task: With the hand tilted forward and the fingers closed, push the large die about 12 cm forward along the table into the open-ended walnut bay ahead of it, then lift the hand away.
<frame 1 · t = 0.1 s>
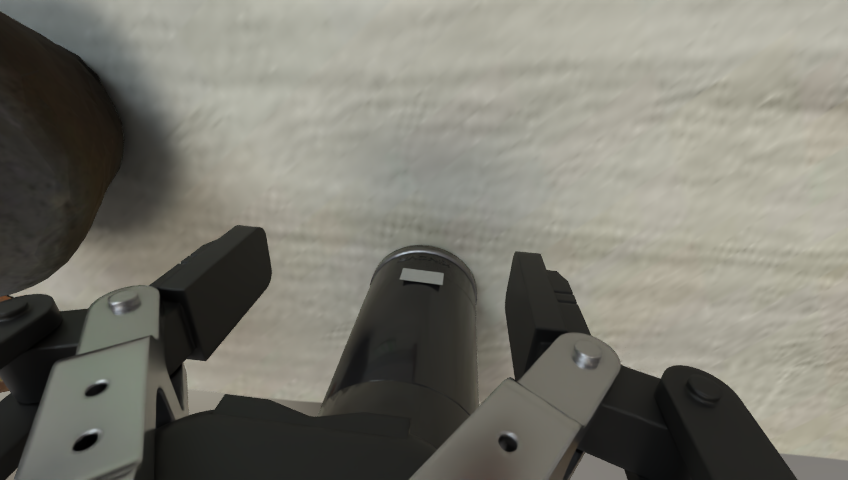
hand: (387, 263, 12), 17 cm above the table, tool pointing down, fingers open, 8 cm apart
pitcher: (52, 102, 29), on the table
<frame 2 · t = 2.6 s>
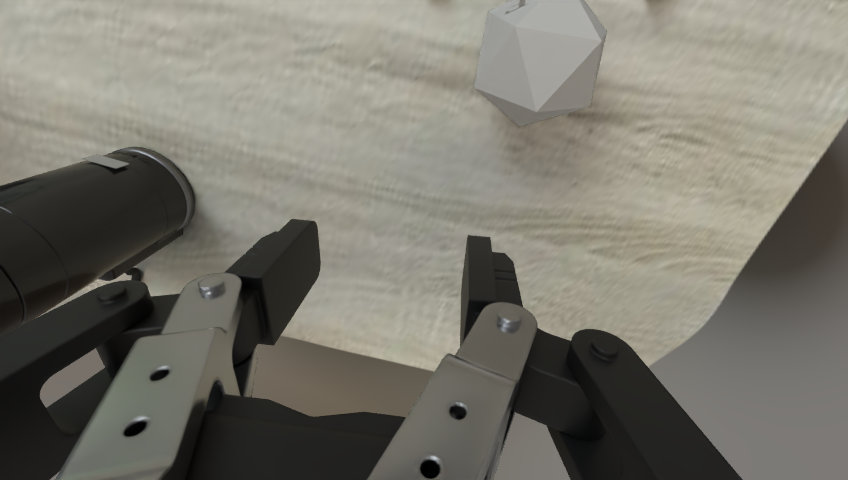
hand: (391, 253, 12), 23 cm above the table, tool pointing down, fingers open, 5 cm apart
die: (530, 58, 30), on the table
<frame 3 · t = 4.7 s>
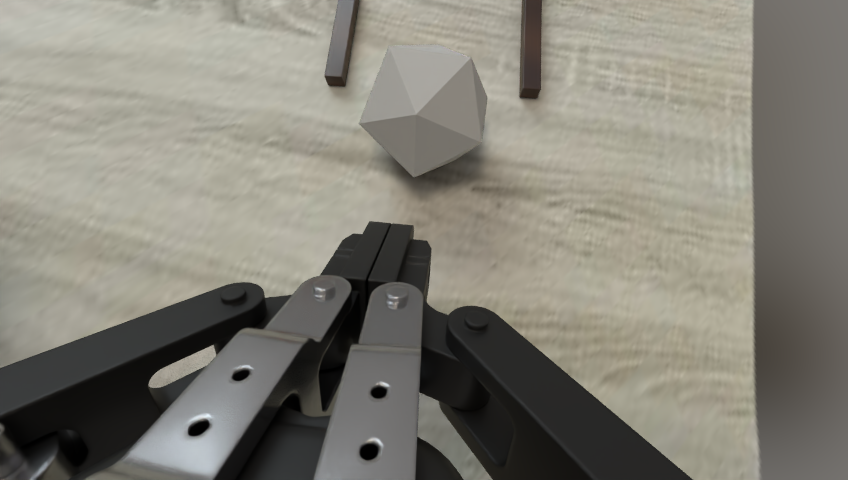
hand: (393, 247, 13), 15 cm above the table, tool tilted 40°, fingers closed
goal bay: (438, 20, 33), on the table
die: (426, 140, 31), on the table
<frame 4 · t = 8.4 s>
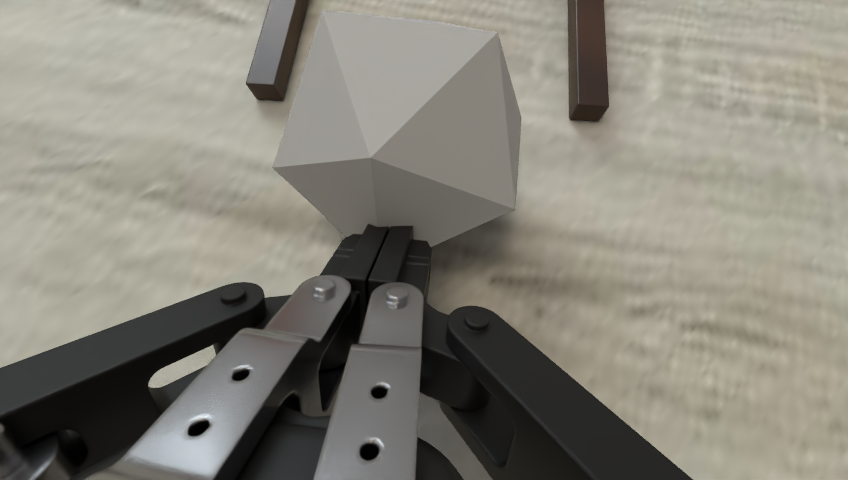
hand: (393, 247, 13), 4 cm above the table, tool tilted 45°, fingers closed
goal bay: (436, 0, 21), on the table
die: (414, 187, 18), on the table, touching gripper
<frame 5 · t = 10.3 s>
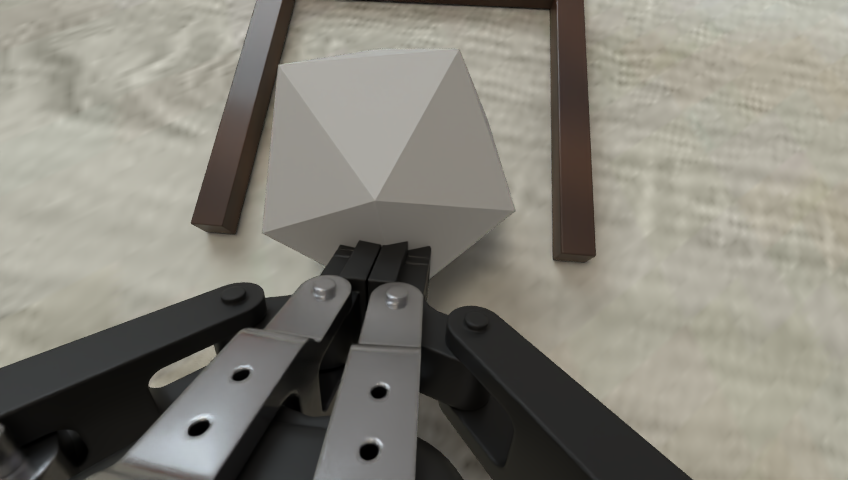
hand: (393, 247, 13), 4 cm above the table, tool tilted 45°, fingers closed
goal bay: (407, 111, 19), on the table
die: (398, 212, 18), on the table, touching gripper
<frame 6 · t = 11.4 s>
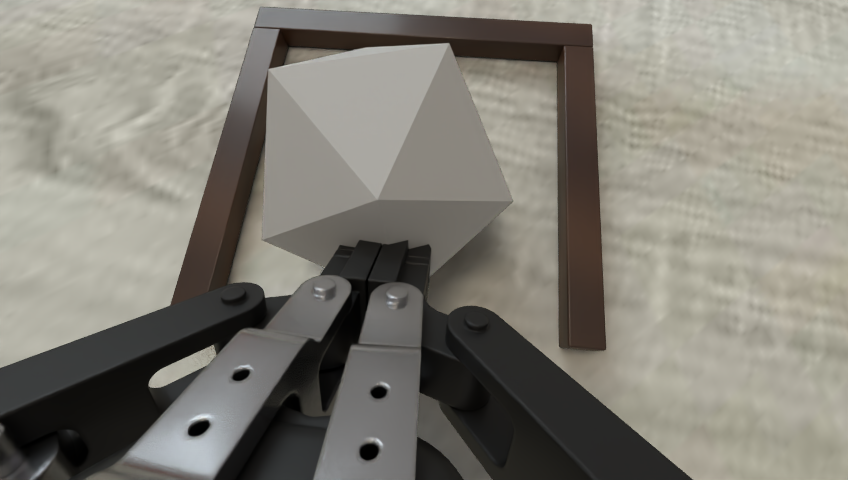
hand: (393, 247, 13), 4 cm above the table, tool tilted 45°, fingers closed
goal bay: (404, 175, 18), on the table
die: (394, 210, 18), on the table, touching gripper
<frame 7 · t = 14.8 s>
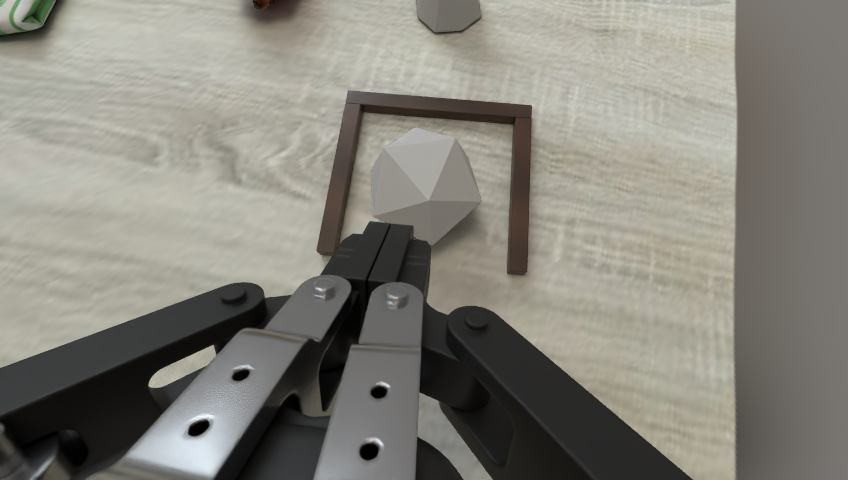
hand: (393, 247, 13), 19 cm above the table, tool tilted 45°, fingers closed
flask: (447, 10, 41), on the table
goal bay: (429, 186, 34), on the table
die: (424, 204, 34), on the table
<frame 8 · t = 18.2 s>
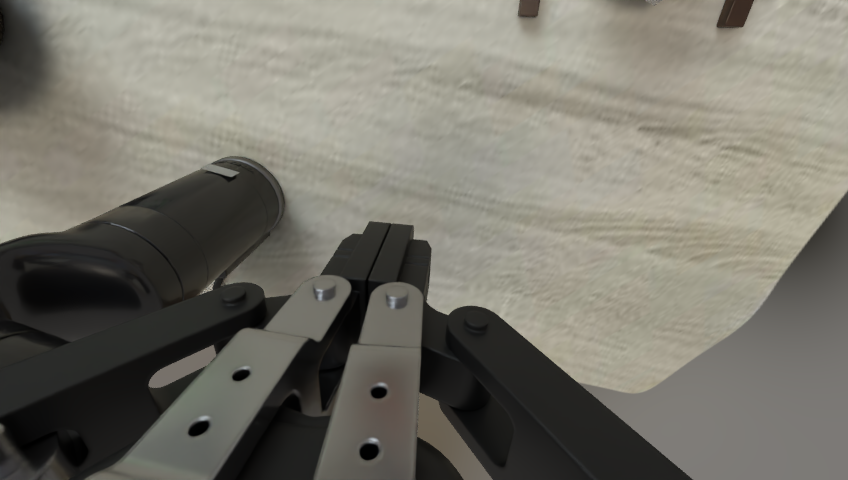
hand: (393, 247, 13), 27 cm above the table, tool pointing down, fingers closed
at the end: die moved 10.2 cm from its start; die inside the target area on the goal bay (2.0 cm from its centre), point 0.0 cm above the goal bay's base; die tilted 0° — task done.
